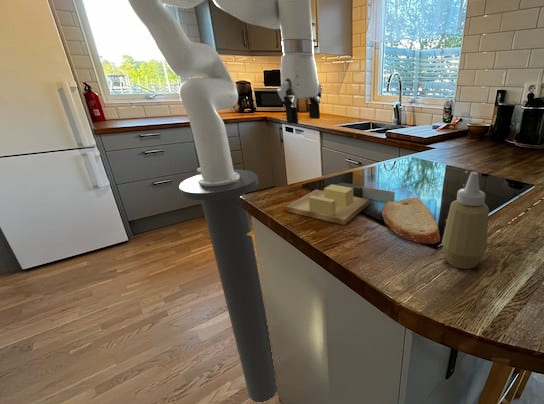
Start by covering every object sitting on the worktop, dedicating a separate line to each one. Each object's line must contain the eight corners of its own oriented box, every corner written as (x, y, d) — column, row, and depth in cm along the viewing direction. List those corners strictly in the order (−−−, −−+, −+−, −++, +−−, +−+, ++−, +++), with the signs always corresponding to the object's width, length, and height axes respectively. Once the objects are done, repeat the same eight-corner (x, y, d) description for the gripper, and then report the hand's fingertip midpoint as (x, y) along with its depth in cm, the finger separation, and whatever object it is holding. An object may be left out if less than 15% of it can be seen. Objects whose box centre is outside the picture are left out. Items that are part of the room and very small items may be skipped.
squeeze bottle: (441, 247, 63) (450, 164, 55) (482, 253, 60) (497, 168, 53) (438, 269, 56) (448, 178, 48) (484, 277, 53) (502, 182, 46)
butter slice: (309, 210, 76) (308, 197, 75) (312, 208, 78) (311, 195, 76) (332, 216, 73) (331, 202, 72) (335, 213, 75) (335, 199, 73)
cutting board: (286, 211, 80) (285, 206, 79) (316, 193, 91) (316, 189, 91) (344, 225, 72) (344, 219, 72) (369, 204, 84) (369, 199, 83)
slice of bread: (434, 248, 62) (436, 232, 61) (361, 227, 71) (361, 213, 69) (458, 216, 76) (460, 202, 75) (394, 201, 85) (395, 189, 83)
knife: (337, 194, 90) (336, 183, 89) (341, 191, 92) (340, 181, 91) (392, 204, 83) (392, 193, 82) (395, 201, 85) (396, 190, 84)
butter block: (324, 201, 82) (323, 188, 80) (332, 196, 85) (331, 184, 84) (346, 206, 79) (345, 192, 77) (353, 200, 82) (353, 188, 81)
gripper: (307, 52, 82) (311, 116, 88) (261, 48, 68) (271, 124, 74) (330, 50, 78) (333, 117, 85) (287, 46, 64) (295, 126, 71)
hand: (304, 120), depth 80 cm, fingers open, 9 cm apart
